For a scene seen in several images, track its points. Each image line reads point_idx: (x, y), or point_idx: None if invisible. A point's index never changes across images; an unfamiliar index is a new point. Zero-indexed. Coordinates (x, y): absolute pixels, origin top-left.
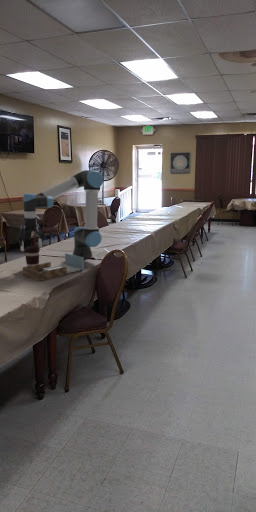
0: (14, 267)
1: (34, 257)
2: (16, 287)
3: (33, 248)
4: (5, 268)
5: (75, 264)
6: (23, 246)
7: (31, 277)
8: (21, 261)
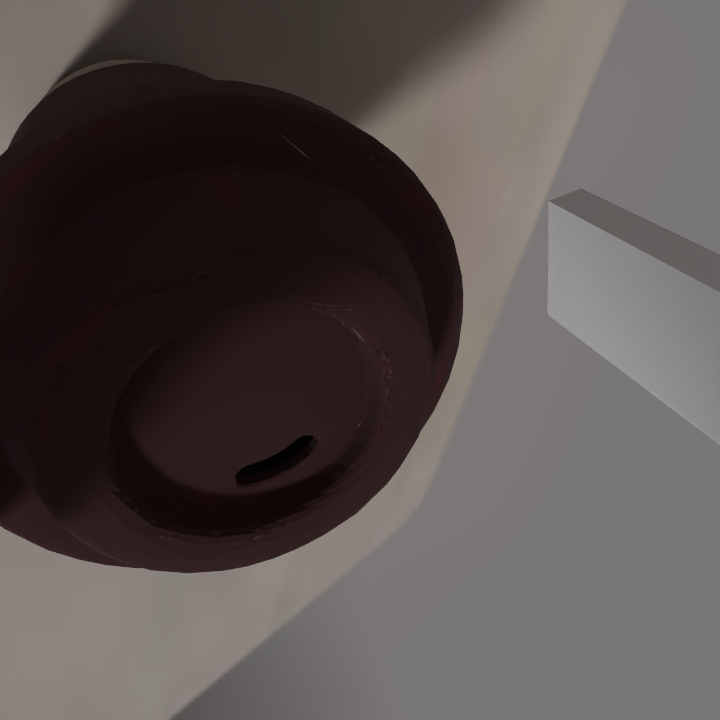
0: None
1: (160, 80)
2: None
3: (240, 236)
4: (474, 351)
5: None
6: (678, 261)
7: None
8: (221, 605)
